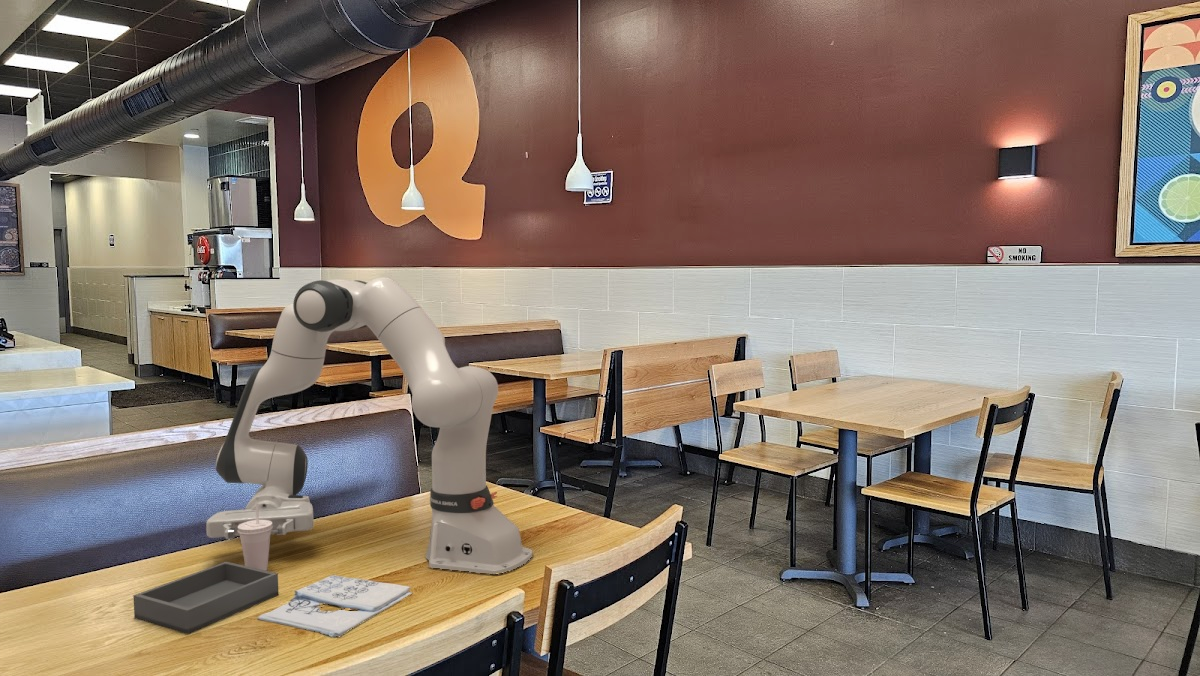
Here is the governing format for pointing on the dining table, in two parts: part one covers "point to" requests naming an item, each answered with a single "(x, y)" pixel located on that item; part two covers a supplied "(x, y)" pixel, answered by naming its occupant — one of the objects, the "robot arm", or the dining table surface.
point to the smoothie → (255, 541)
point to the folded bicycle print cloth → (342, 594)
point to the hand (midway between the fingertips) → (255, 533)
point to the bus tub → (205, 597)
